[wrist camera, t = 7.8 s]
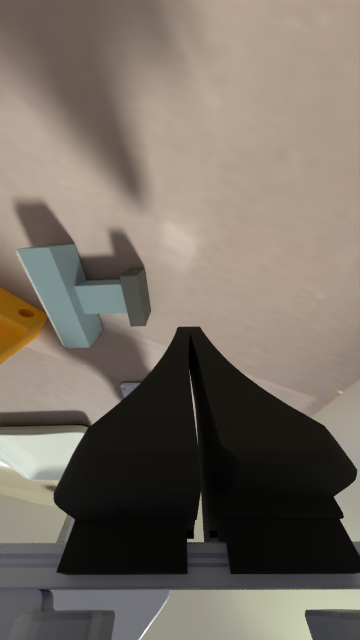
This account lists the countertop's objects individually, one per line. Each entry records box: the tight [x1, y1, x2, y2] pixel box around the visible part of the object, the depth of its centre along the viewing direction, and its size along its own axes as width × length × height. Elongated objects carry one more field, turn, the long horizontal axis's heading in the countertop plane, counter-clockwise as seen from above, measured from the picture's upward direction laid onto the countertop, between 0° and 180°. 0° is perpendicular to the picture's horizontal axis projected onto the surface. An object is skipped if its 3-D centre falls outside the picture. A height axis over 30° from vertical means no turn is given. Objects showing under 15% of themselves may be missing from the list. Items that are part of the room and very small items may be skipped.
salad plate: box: [0, 425, 87, 481], centre depth 34 cm, size 21×21×3 cm
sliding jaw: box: [16, 244, 151, 348], centre depth 16 cm, size 10×10×4 cm
